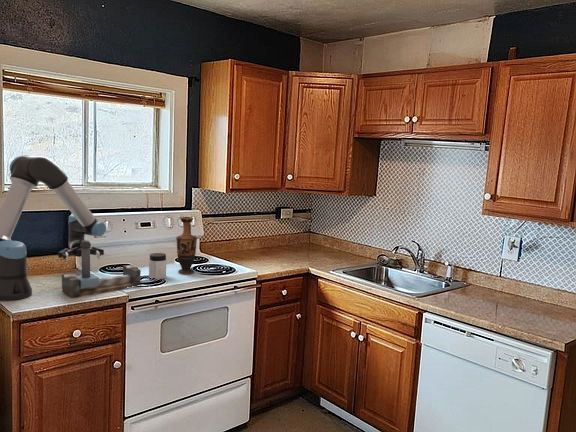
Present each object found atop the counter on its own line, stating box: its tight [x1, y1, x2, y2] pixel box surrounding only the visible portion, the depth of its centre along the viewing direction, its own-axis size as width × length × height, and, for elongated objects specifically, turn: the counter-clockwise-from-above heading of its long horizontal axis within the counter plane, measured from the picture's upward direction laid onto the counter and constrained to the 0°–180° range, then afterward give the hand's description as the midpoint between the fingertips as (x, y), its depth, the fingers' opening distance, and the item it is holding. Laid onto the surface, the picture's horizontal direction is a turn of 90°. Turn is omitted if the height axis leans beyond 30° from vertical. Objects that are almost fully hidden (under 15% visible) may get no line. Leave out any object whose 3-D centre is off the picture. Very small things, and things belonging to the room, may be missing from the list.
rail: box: [61, 264, 141, 299], centre depth 227 cm, size 34×12×9 cm, turn 134°
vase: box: [176, 216, 198, 275], centre depth 261 cm, size 11×11×30 cm
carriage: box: [76, 239, 100, 289], centre depth 221 cm, size 8×9×21 cm
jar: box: [148, 252, 167, 280], centre depth 250 cm, size 9×8×12 cm
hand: (83, 257), depth 229 cm, fingers open, 13 cm apart
